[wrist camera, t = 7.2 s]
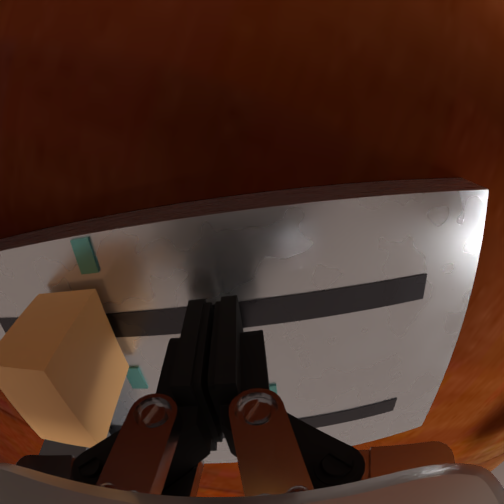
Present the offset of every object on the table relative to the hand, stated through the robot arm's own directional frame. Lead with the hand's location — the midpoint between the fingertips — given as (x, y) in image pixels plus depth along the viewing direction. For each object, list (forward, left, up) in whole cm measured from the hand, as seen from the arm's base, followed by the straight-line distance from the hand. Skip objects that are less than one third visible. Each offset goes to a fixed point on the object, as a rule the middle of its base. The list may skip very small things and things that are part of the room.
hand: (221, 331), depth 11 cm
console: (+2, +4, -3) cm, 5 cm away
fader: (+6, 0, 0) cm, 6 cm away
